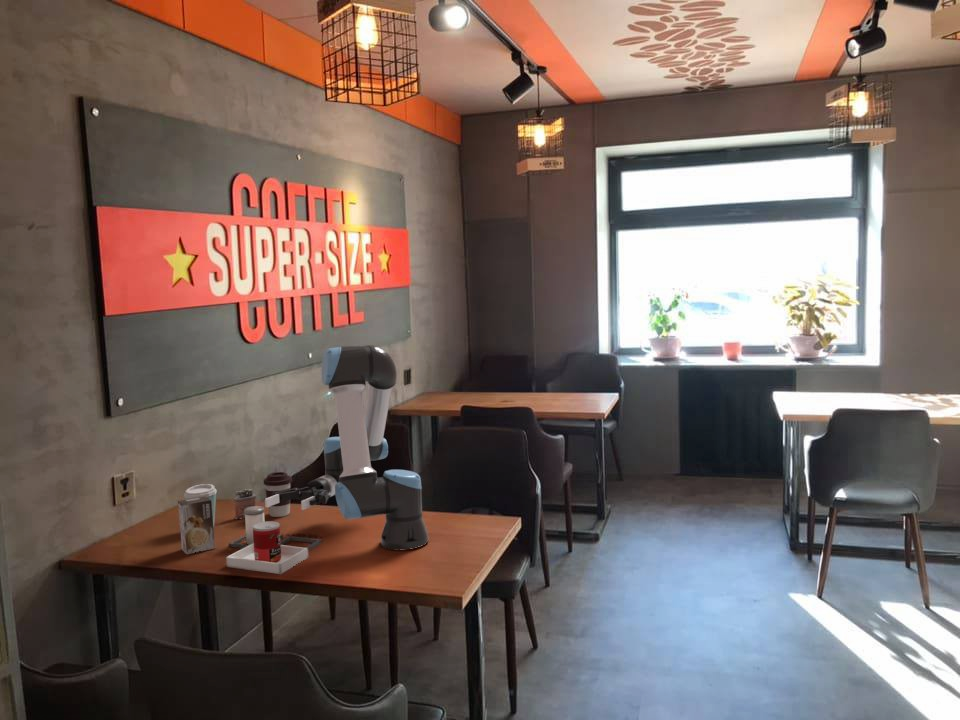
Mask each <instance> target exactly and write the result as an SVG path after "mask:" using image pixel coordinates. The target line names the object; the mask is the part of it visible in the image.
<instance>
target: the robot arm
mask: <svg viewBox="0 0 960 720" xmlns="http://www.w3.org/2000/svg"><path fill="white" fill-rule="evenodd" d="M397 374H398V373H397V368H396V364H395V361H394V360H393V358H392V357H391V355H390V354H389V353H388V352H387V350H385V349H383V348H382V347H380V346H377V345H373V344H368V345H367V344H366V345H351V346H338V347H337V346H336V347H330V348H327V349H326V350H325V351H324V354H323V357H322V361H321V380H322V384H323V385H324V386H328V391H329V393H331V394H332V395H334V401H335V402H334V403H335V410H336V420H337V426H338V427H337V428H338V435H339V436H331V437H328V438H325V439H324V441H323V454H324V456H323V457H324V465H325V466H324V468H325V473H324V474H325V475H322V476H320V477H318V478H315V479H313V480H311V481H309V482H308V483H307V485H306V486H305V487H302V488H299V487H294V488H291V489H290V490H285V491H280V492H275V493H272V496H271V497H269V498H264V508H268V507H270V506H272V505H275V504H278V503H280V502H279V501H286V500H291V501H292V500H297V501H300V500H301V501H300V505H301V510H302V511H304V510H307V509H309V508H311V507H313V506H316V505H320V504H321V505H326V504H327V502H328V500H329V498H331V497H333V496H335V500H336V504H337V507H338V510H339V512H340V514H341V515H342V517H343V518H344V519H346V520H356V519H358V520H359V519H365V518H369V517H376V516H383V515H385V522H384V525H383V529H382V531H381V536H380V543H381V544H380V545H381V546H382V548H384V547H386V548H385V549H387V548H389V549H388V550H390V549H399V550H398V551H401V550H400V549H410V548H415V547H418V546H421V545H424V544H425V543H427V542H428V540H429V538H430V535H429V532H428V530H427V527H426V524H425V522H424V519H423V502H422V501H423V500H422V498H423V497H422V493H423V492H422V489H423V487H422V480H421V479H422V478H421V476H420V474H419V473H417V472H414V471H412V470H406V469H388V470H385V471H384V472H383V475H382V476H380V477H378V473H377V470H375V469H374V468H373V467H372V464H371V461H378V460H384V459H386V458H387V457H388V455H389V445H388V442H387V439H386V438H385V437H384V435H385V430H386V422H387V418H388V411H389V406H390V400H391V394H392V389H393V388H394V387H395V386H396V383H397ZM366 383H367V384H368V391H367V397H366V403H365V409H364V401H363V400H364V399H363V391H364V390H365V389H366V387H367V385H366ZM428 543H429V542H428Z"/></svg>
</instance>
